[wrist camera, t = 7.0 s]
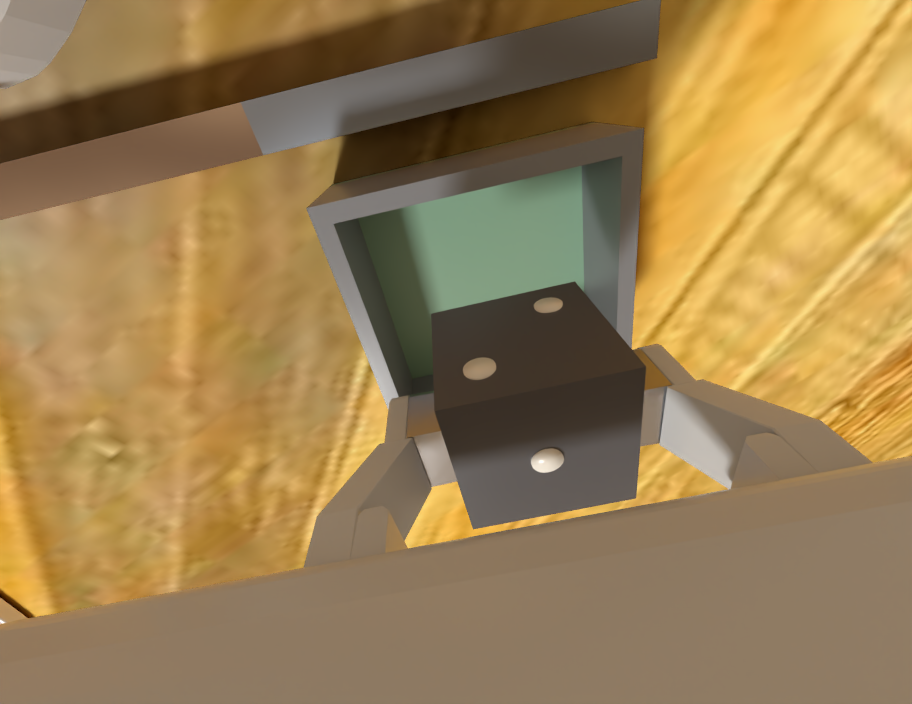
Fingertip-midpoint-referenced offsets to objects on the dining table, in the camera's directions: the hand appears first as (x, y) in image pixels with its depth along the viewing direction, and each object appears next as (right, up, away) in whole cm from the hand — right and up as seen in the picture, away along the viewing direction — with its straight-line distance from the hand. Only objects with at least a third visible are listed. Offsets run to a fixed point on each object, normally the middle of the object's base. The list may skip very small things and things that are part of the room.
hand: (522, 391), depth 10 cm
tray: (-1, +4, +7) cm, 8 cm away
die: (0, +1, +1) cm, 2 cm away
